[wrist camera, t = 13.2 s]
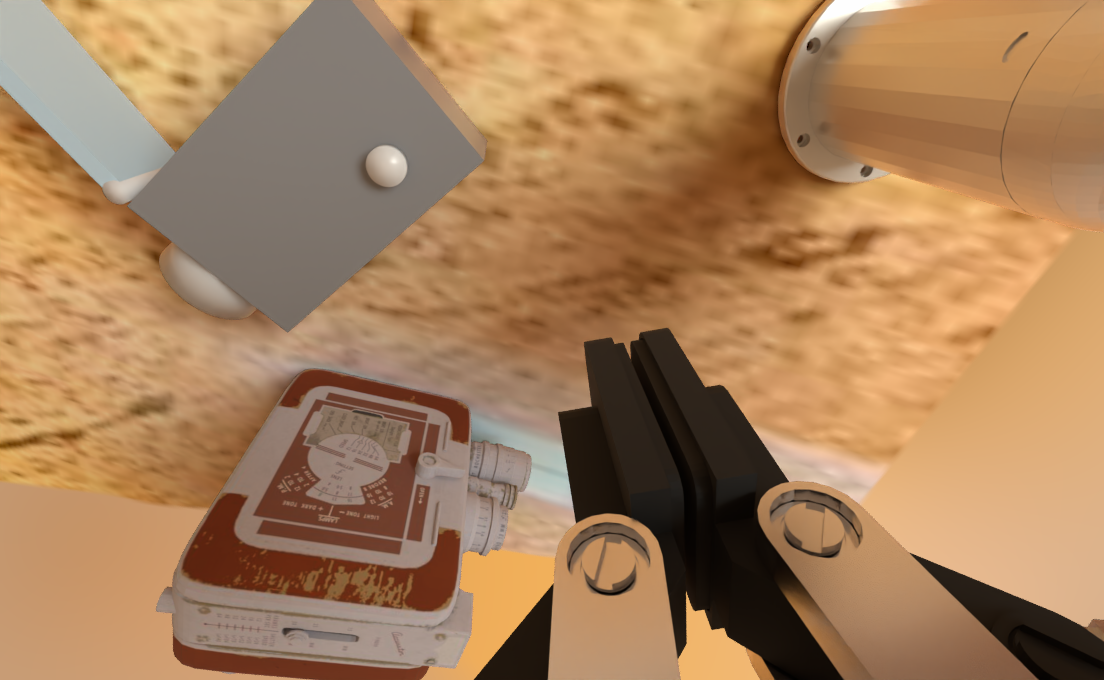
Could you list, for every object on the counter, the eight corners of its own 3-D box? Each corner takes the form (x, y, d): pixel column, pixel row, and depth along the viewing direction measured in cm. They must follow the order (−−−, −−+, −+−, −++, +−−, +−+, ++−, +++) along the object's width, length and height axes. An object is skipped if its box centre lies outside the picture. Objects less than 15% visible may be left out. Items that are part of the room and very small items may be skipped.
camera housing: (369, -6, 29) (328, -24, 22) (487, 140, 33) (483, 163, 26) (164, 212, 33) (79, 252, 27) (291, 314, 38) (245, 371, 31)
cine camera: (505, 478, 48) (509, 719, 31) (288, 436, 43) (147, 692, 26) (537, 403, 44) (561, 631, 27) (301, 347, 39) (144, 580, 22)
